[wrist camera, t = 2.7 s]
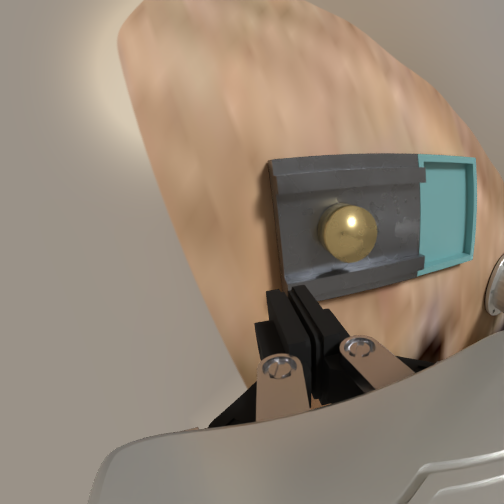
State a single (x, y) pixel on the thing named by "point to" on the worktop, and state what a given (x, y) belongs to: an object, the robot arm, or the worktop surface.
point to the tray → (447, 211)
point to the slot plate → (355, 193)
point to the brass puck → (347, 232)
